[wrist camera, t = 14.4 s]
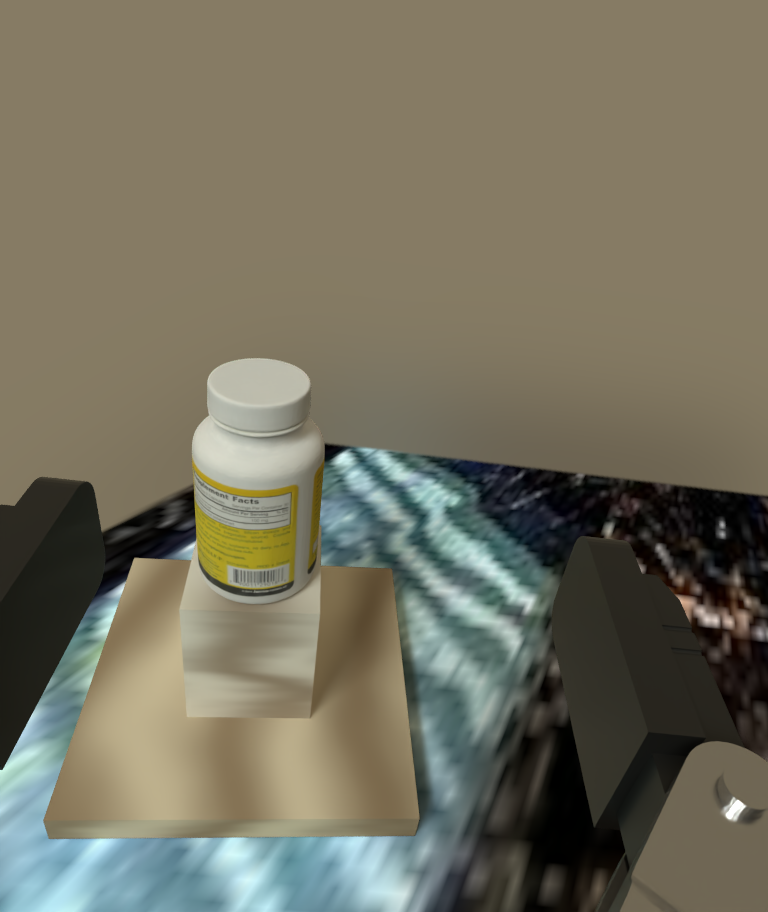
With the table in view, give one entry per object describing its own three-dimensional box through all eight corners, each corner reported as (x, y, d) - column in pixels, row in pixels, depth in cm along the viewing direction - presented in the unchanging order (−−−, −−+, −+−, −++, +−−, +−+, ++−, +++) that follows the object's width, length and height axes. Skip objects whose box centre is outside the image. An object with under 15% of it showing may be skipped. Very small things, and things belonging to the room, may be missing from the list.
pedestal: (389, 585, 44) (408, 474, 39) (414, 835, 31) (448, 716, 26) (136, 575, 42) (122, 457, 37) (48, 838, 29) (9, 709, 24)
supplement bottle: (261, 513, 35) (267, 338, 29) (338, 567, 32) (360, 386, 27) (172, 563, 31) (159, 373, 26) (251, 629, 28) (255, 432, 23)
